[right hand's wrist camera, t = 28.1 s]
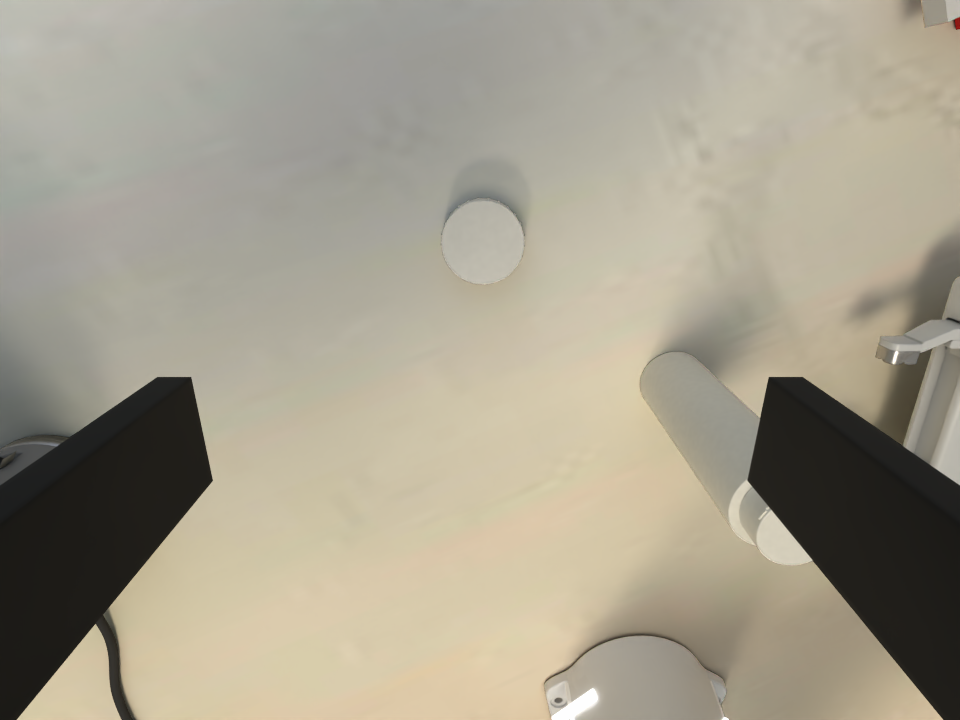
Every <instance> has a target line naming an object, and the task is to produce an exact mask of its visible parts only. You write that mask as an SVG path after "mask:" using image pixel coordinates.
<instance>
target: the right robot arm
mask: <svg viewBox="0 0 960 720" xmlns="http://www.w3.org/2000/svg"><path fill="white" fill-rule="evenodd" d="M212 481H213V479H212V475H211V470H210V465H209V460H208V455H207V451H206V446H205V441H204V436H203V432H202V427H201V422H200V417H199V412H198V408H197V403H196V398H195V393H194V389H193V384H192V379H191V377H157V378H155V379H154V380H153V381H151V382H150V383H148V384H147V385H145V386H144V387H142V388H141V389H139V390H138V391H137V392H135V393H134V394H132V395H131V396H129V397H128V398H126V399H125V400H123V401H122V402H121V403H119V404H118V405H116V406H115V407H113V408H112V409H110V410H109V411H107V412H106V413H105V414H103V415H102V416H100V417H99V418H97V419H96V420H94V421H93V422H91V423H90V424H89V425H87V426H86V427H84V428H83V429H81V430H80V431H78V432H77V433H75V434H74V435H73V436H71V437H70V438H69V437H63V436H54V435H40V436H32V437H26V438H23V439H19V440H17V441H14V442H12V443H10V444H8V445H6V446H4V447H3V448H1V449H0V720H17V719H18V717H19V716H20V715H21V714H22V712H23V711H24V710H25V709H26V708H27V706H28V705H29V704H30V703H31V701H32V700H33V699H34V698H35V697H36V695H37V694H38V693H39V692H40V691H41V689H42V688H43V687H44V686H45V684H46V683H47V682H48V681H49V680H50V678H51V677H52V676H53V675H54V673H55V672H56V671H57V670H58V669H59V667H60V666H61V665H62V664H63V663H64V661H65V660H66V659H67V658H68V656H69V655H70V654H71V653H72V652H73V650H74V649H75V648H76V647H77V645H78V644H79V643H80V642H81V641H82V639H83V638H84V637H85V636H86V635H87V633H88V632H89V631H90V630H91V628H92V627H93V626H94V625H95V624H96V625H97V626H98V628H99V630H100V631H101V633H102V635H103V637H104V640H105V643H106V646H107V650H108V656H109V677H110V687H111V692H112V696H113V699H114V703H115V705H116V708H117V710H118V713H119V715H120V717H121V719H122V720H133V719H132V717H131V715H130V713H129V711H128V709H127V707H126V704H125V701H124V699H123V696H122V692H121V688H120V682H119V662H118V649H117V644H116V640H115V637H114V634H113V632H112V630H111V628H110V626H109V625H108V623H107V621H106V619H105V618H104V616H103V614H104V613H105V611H106V610H107V609H108V608H109V606H110V605H111V604H112V603H113V602H114V600H115V599H116V598H117V597H118V596H119V594H120V593H121V592H122V591H123V589H124V588H125V587H126V586H127V585H128V583H129V582H130V581H131V580H132V578H133V577H134V576H135V575H136V574H137V572H138V571H139V570H140V569H141V568H142V566H143V565H144V564H145V563H146V561H147V560H148V559H149V558H150V557H151V555H152V554H153V553H154V552H155V550H156V549H157V548H158V547H159V546H160V544H161V543H162V542H163V541H164V540H165V538H166V537H167V536H168V535H169V533H170V532H171V531H172V530H173V529H174V527H175V526H176V525H177V524H178V522H179V521H180V520H181V519H182V518H183V516H184V515H185V514H186V513H187V511H188V510H189V509H190V508H191V507H192V505H193V504H194V503H195V502H196V501H197V499H198V498H199V497H200V496H201V494H202V493H203V492H204V491H205V490H206V488H207V487H208V486H209V485H210V483H211V482H212ZM747 481H748V482H749V483H750V485H751V486H752V487H753V488H754V490H755V491H756V492H757V493H758V494H759V496H760V497H761V498H762V499H763V501H764V502H765V503H766V504H767V505H768V507H769V508H770V509H771V510H772V511H773V513H774V514H775V515H776V516H777V518H778V519H779V520H780V521H781V522H782V524H783V525H784V526H785V527H786V529H787V530H788V531H789V532H790V533H791V535H792V536H793V537H794V538H795V540H796V541H797V542H798V543H799V544H800V546H801V547H802V548H803V549H804V550H805V552H806V553H807V554H808V555H809V557H810V558H811V559H812V560H813V561H814V563H815V564H816V565H817V566H818V568H819V569H820V570H821V571H822V572H823V574H824V575H825V576H826V577H827V578H828V580H829V581H830V582H831V583H832V585H833V586H834V587H835V588H836V589H837V591H838V592H839V593H840V594H841V596H842V597H843V598H844V599H845V600H846V602H847V603H848V604H849V605H850V606H851V608H852V609H853V610H854V611H855V613H856V614H857V615H858V616H859V617H860V619H861V620H862V621H863V622H864V624H865V625H866V626H867V627H868V628H869V630H870V631H871V632H872V633H873V635H874V636H875V637H876V638H877V639H878V641H879V642H880V643H881V644H882V645H883V647H884V648H885V649H886V650H887V652H888V653H889V654H890V655H891V656H892V658H893V659H894V660H895V661H896V663H897V664H898V665H899V666H900V667H901V669H902V670H903V671H904V672H905V673H906V675H907V676H908V677H909V678H910V680H911V681H912V682H913V683H914V684H915V686H916V687H917V688H918V689H919V691H920V692H921V693H922V694H923V695H924V697H925V698H926V699H927V700H928V701H929V703H930V704H931V705H932V706H933V708H934V709H935V710H936V711H937V712H938V714H939V715H940V716H941V717H942V719H943V720H960V485H959V484H957V483H956V482H954V481H953V480H951V479H950V478H949V477H947V476H946V475H944V474H943V473H941V472H940V471H938V470H937V469H935V468H934V467H933V466H931V465H930V464H928V463H927V462H925V461H924V460H922V459H921V458H919V457H918V456H917V455H915V454H914V453H912V452H911V451H909V450H908V449H906V448H905V447H903V446H902V445H901V444H899V443H898V442H896V441H895V440H893V439H892V438H890V437H889V436H887V435H886V434H885V433H883V432H882V431H880V430H879V429H877V428H876V427H874V426H873V425H871V424H870V423H869V422H867V421H866V420H864V419H863V418H861V417H860V416H858V415H857V414H855V413H854V412H853V411H851V410H850V409H848V408H847V407H845V406H844V405H842V404H841V403H839V402H838V401H837V400H835V399H834V398H832V397H831V396H829V395H828V394H826V393H825V392H823V391H822V390H821V389H819V388H818V387H816V386H815V385H813V384H812V383H810V382H809V381H807V380H806V379H805V378H803V377H769V379H768V384H767V389H766V393H765V398H764V403H763V408H762V412H761V417H760V422H759V427H758V432H757V436H756V441H755V446H754V451H753V455H752V460H751V465H750V470H749V475H748V479H747Z"/></svg>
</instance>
